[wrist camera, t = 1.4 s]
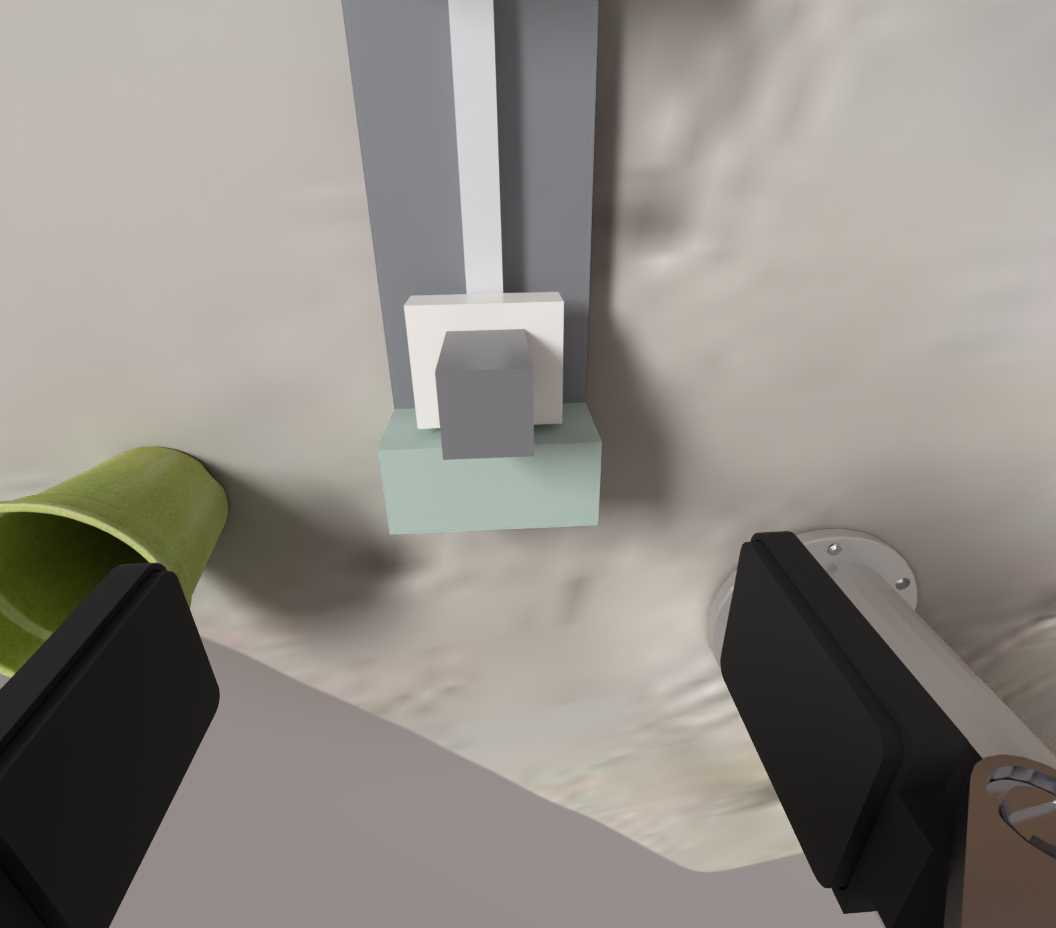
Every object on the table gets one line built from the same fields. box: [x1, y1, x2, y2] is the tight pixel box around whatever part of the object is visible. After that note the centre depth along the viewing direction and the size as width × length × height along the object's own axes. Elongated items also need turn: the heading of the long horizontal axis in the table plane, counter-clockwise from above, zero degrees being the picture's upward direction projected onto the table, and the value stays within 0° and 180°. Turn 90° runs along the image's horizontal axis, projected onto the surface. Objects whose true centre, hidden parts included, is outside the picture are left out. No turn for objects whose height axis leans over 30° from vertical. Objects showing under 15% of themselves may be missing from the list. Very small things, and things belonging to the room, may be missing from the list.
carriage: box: [404, 292, 564, 460], centre depth 21 cm, size 5×6×7 cm
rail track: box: [341, 0, 602, 535], centre depth 21 cm, size 28×9×7 cm, turn 1°
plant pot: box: [0, 447, 228, 678], centre depth 26 cm, size 9×9×9 cm
